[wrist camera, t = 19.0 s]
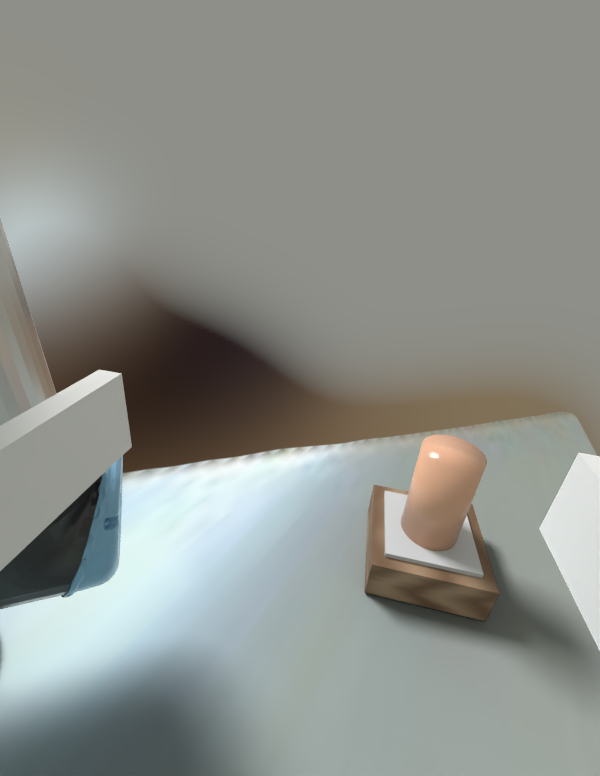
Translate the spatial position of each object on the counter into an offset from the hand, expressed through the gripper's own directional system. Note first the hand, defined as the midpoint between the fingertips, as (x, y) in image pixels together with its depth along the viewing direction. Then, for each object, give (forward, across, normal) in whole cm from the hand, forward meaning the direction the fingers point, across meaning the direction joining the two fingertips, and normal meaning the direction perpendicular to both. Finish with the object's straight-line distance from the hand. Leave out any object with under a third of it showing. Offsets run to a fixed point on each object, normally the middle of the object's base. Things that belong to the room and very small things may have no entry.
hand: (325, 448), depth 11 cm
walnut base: (+29, +13, -35) cm, 47 cm away
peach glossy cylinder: (+29, +13, -29) cm, 43 cm away
